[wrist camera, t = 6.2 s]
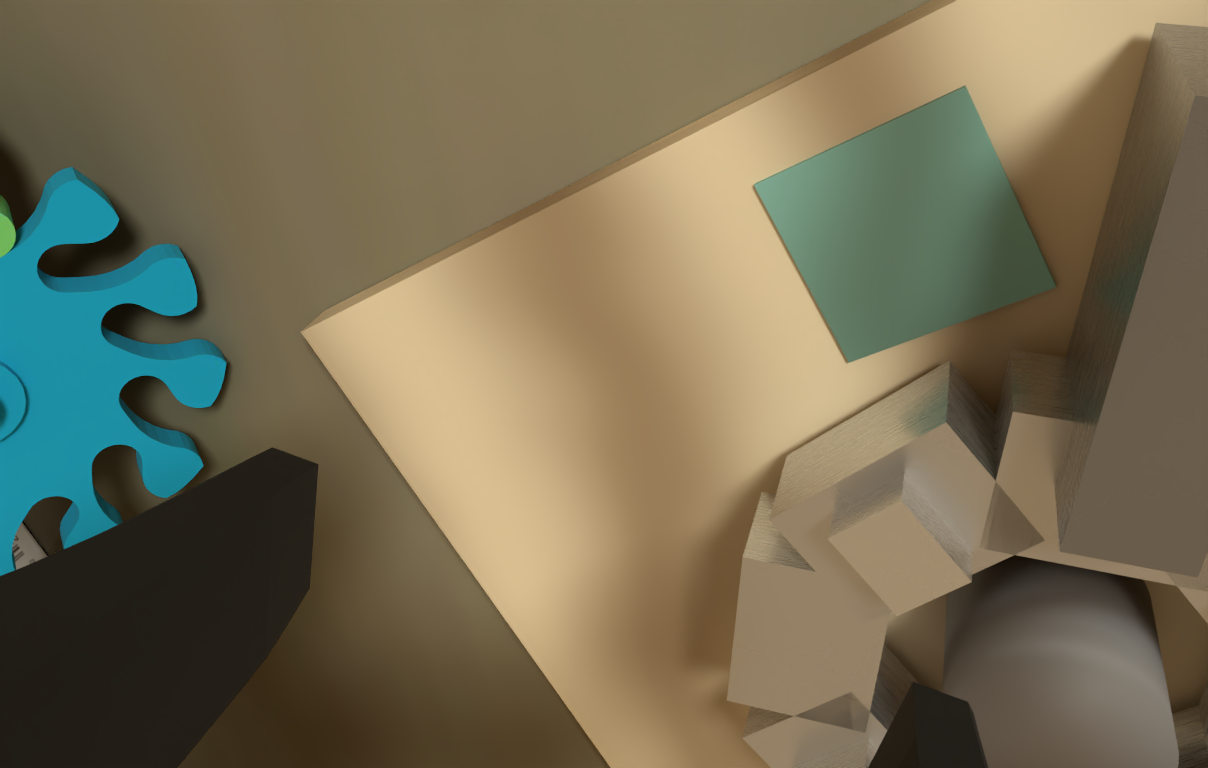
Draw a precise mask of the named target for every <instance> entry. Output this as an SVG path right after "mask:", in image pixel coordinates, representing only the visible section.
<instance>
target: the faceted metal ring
mask: <svg viewBox="0 0 1208 768" xmlns="http://www.w3.org/2000/svg"><path fill="white" fill-rule="evenodd" d="M1014 555H1018V556H1023V557H1028V558H1033V559H1038V560H1044V561H1049V562H1054V563H1059V564H1065V565H1070V566H1075V567H1080V568H1086V569H1091V570H1096V571H1101V572H1106V573H1112V574H1117V575H1122V576H1127V577H1133V578H1138V579H1143V580H1148V581H1154V582H1159V583H1164V584H1169V585H1175V586H1177V587H1178V588H1179V589H1180V591H1181V592H1182V593H1183V594H1184V595H1185V597H1186V598H1187V599H1188V600H1189V602H1190V603H1191V604H1192V605H1193V606H1194V608H1195V609H1196V610H1197V611H1198V613H1199V614H1200V615H1201V616H1202V617H1203V619H1204V620H1205V621H1206V622H1207V624H1208V27H1200V26H1188V25H1176V24H1164V23H1156V24H1155V28H1154V31H1153V35H1152V39H1151V42H1150V46H1149V50H1148V54H1147V57H1146V61H1145V65H1144V68H1143V72H1142V76H1141V80H1140V83H1139V87H1138V91H1137V94H1136V98H1135V102H1134V106H1133V109H1132V113H1131V117H1130V121H1129V124H1128V128H1127V132H1126V135H1125V139H1124V143H1123V147H1122V150H1121V154H1120V158H1119V161H1118V165H1117V169H1116V173H1115V176H1114V180H1113V184H1112V187H1111V191H1110V195H1109V199H1108V202H1107V206H1106V210H1105V213H1104V217H1103V221H1102V225H1101V228H1100V232H1099V236H1098V239H1097V243H1096V247H1095V251H1094V254H1093V258H1092V262H1091V266H1090V269H1089V273H1088V277H1087V280H1086V284H1085V288H1084V292H1083V295H1082V299H1081V303H1080V306H1079V310H1078V314H1077V318H1076V321H1075V325H1074V329H1073V332H1072V336H1071V340H1070V344H1069V347H1068V351H1067V355H1066V358H1065V357H1059V356H1052V355H1045V354H1039V353H1032V352H1026V351H1019V350H1012V349H1011V351H1010V355H1009V360H1008V364H1007V368H1006V372H1005V376H1004V381H1003V385H1002V389H1001V393H1000V397H999V401H998V406H997V410H996V414H994V413H993V412H992V410H991V409H990V408H989V407H988V406H987V404H986V403H985V402H984V401H983V400H982V398H981V397H980V396H979V395H978V394H977V392H976V391H975V390H974V389H973V387H972V386H971V385H970V384H969V383H968V381H967V380H966V379H965V378H964V377H963V375H962V374H961V373H960V372H959V371H958V369H957V368H956V367H955V366H954V365H953V363H952V362H951V361H948V362H946V363H945V364H943V365H941V366H939V367H938V368H936V369H934V370H933V371H931V372H929V373H927V374H926V375H924V376H922V377H921V378H919V379H917V380H915V381H914V382H912V383H910V384H909V385H907V386H905V387H904V388H902V389H900V390H898V391H897V392H895V393H893V394H892V395H890V396H888V397H886V398H885V399H883V400H881V401H880V402H878V403H876V404H874V405H873V406H871V407H869V408H868V409H866V410H864V411H862V412H861V413H859V414H857V415H856V416H854V417H852V418H850V419H849V420H847V421H845V422H844V423H842V424H840V425H839V426H837V427H835V428H833V429H832V430H830V431H828V432H827V433H825V434H823V435H821V436H820V437H818V438H816V439H815V440H813V441H811V442H809V443H808V444H806V445H804V446H803V447H801V448H799V449H797V450H796V451H794V452H792V453H791V454H789V455H787V457H786V460H785V464H784V467H783V471H782V475H781V478H780V482H779V486H778V489H777V493H776V494H772V493H766V492H762V493H761V496H760V500H759V503H758V507H757V510H756V513H755V517H754V520H753V524H752V527H751V530H750V534H749V537H748V541H747V544H746V547H745V551H744V554H743V558H742V567H741V576H740V585H739V594H738V603H737V613H736V622H735V631H734V640H733V649H732V658H731V667H730V676H729V685H728V694H727V701H731V702H735V703H740V704H744V705H748V706H750V708H749V712H748V716H747V720H746V724H745V729H744V733H743V737H742V739H743V740H744V741H745V742H746V743H747V744H748V745H749V746H750V747H751V748H752V749H753V750H754V751H755V752H756V753H757V754H758V755H759V756H760V757H761V758H762V759H763V760H764V761H765V762H766V763H767V764H768V765H769V766H770V767H771V768H868V767H869V765H870V763H871V761H872V759H873V757H874V755H875V754H876V752H877V750H878V748H879V746H880V744H881V742H882V740H883V738H884V736H885V734H886V732H887V730H888V729H889V727H890V725H891V723H892V721H893V719H894V717H895V715H896V713H897V711H898V709H899V707H900V706H901V704H902V702H903V700H904V698H905V696H906V694H907V692H908V690H909V688H910V686H911V684H912V682H915V683H918V684H921V683H920V682H919V681H918V680H917V679H916V678H915V677H914V676H913V675H912V674H911V672H910V671H909V670H908V669H907V668H906V667H905V666H904V665H903V664H902V663H901V661H900V660H899V659H898V658H897V657H896V656H895V655H894V654H893V653H892V652H891V650H890V649H889V648H888V647H887V646H886V645H885V644H884V640H885V635H886V630H887V625H888V620H889V615H890V612H892V611H893V612H894V614H895V615H896V616H899V615H901V614H903V613H905V612H907V611H910V610H912V609H914V608H916V607H918V606H921V605H923V604H925V603H927V602H929V601H931V600H934V599H936V598H938V597H940V596H942V595H945V594H947V593H949V592H951V591H953V590H955V589H958V588H960V587H962V586H964V585H966V584H969V583H971V582H972V574H975V573H977V572H979V571H981V570H983V569H985V568H988V567H990V566H992V565H994V564H996V563H998V562H1001V561H1003V560H1005V559H1007V558H1009V557H1011V556H1014ZM1172 717H1173V723H1174V728H1175V734H1176V739H1177V745H1178V750H1179V764H1178V768H1208V682H1207V685H1206V687H1205V689H1204V692H1203V694H1202V697H1201V699H1200V702H1199V704H1198V706H1195V707H1192V708H1189V709H1186V710H1184V711H1181V712H1178V713H1175V714H1172Z"/></svg>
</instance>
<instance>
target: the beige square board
mask: <svg viewBox="0 0 1208 768" xmlns="http://www.w3.org/2000/svg"><path fill="white" fill-rule="evenodd" d="M1156 23H1164V24H1176V25H1188V26H1200V27H1208V0H932V1H930V2H928V3H926V4H924V5H922V6H920V7H918V8H916V9H914V10H912V11H910V12H908V13H906V14H904V15H902V16H900V17H898V18H896V19H894V20H892V21H890V22H888V23H887V24H885V25H883V26H881V27H879V28H877V29H875V30H873V31H871V32H869V33H867V34H865V35H863V36H861V37H859V38H857V39H855V40H853V41H851V42H849V43H847V44H845V45H843V46H842V47H840V48H838V49H836V50H834V51H832V52H830V53H828V54H826V55H824V56H822V57H820V58H818V59H816V60H814V61H812V62H810V63H808V64H806V65H804V66H802V67H800V68H798V69H797V70H795V71H793V72H791V73H789V74H787V75H785V76H783V77H781V78H779V79H777V80H775V81H773V82H771V83H769V84H767V85H765V86H763V87H761V88H759V89H757V90H755V91H753V92H751V93H750V94H748V95H746V96H744V97H742V98H740V99H738V100H736V101H734V102H732V103H730V104H728V105H726V106H724V107H722V108H720V109H718V110H716V111H714V112H712V113H710V114H708V115H706V116H705V117H703V118H701V119H699V120H697V121H695V122H693V123H691V124H689V125H687V126H685V127H683V128H681V129H679V130H677V131H675V132H673V133H671V134H669V135H667V136H665V137H663V138H661V139H660V140H658V141H656V142H654V143H652V144H650V145H648V146H646V147H644V148H642V149H640V150H638V151H636V152H634V153H632V154H630V155H628V156H626V157H624V158H622V159H620V160H618V161H616V162H614V163H613V164H611V165H609V166H607V167H605V168H603V169H601V170H599V171H597V172H595V173H593V174H591V175H589V176H587V177H585V178H583V179H581V180H579V181H577V182H575V183H573V184H571V185H569V186H568V187H566V188H564V189H562V190H560V191H558V192H556V193H554V194H552V195H550V196H548V197H546V198H544V199H542V200H540V201H538V202H536V203H534V204H532V205H530V206H528V207H526V208H524V209H523V210H521V211H519V212H517V213H515V214H513V215H511V216H509V217H507V218H505V219H503V220H501V221H499V222H497V223H495V224H493V225H491V226H489V227H487V228H485V229H483V230H481V231H479V232H477V233H476V234H474V235H472V236H470V237H468V238H466V239H464V240H462V241H460V242H458V243H456V244H454V245H452V246H450V247H448V248H446V249H444V250H442V251H440V252H438V253H436V254H434V255H432V256H431V257H429V258H427V259H425V260H423V261H421V262H419V263H417V264H415V265H413V266H411V267H409V268H407V269H405V270H403V271H401V272H399V273H397V274H395V275H393V276H391V277H389V278H387V279H386V280H384V281H382V282H380V283H378V284H376V285H374V286H372V287H370V288H368V289H366V290H364V291H362V292H360V293H358V294H356V295H354V296H352V297H350V298H348V299H346V300H344V301H342V302H340V303H339V304H337V305H335V306H333V307H331V308H329V309H327V310H325V311H324V312H323V313H321V314H320V315H319V316H318V317H317V318H316V319H315V320H314V321H312V322H311V323H310V324H309V325H308V326H307V327H306V328H305V329H304V330H302V331H301V333H302V334H303V336H304V337H305V339H306V340H307V341H308V343H309V344H310V346H311V347H312V348H313V350H314V351H315V353H316V354H317V355H318V357H319V358H320V360H321V361H322V362H323V364H324V365H325V367H326V368H327V369H328V371H329V372H330V374H331V375H332V377H333V378H334V379H335V381H336V382H337V384H338V385H339V386H340V388H341V389H342V391H343V392H344V393H345V395H346V396H347V398H348V399H349V400H350V402H351V403H352V405H353V406H354V407H355V409H356V410H357V412H358V413H359V415H360V416H361V417H362V419H363V420H364V422H365V423H366V424H367V426H368V427H369V429H370V430H371V431H372V433H373V434H374V436H375V437H376V438H377V440H378V441H379V443H380V444H381V445H382V447H383V448H384V450H385V451H386V452H387V454H388V455H389V457H390V458H391V460H392V461H393V462H394V464H395V465H396V467H397V468H398V469H399V471H400V472H401V474H402V475H403V476H404V478H405V479H406V481H407V482H408V483H409V485H410V486H411V488H412V489H413V490H414V492H415V493H416V495H417V496H418V498H419V499H420V500H421V502H422V503H423V505H424V506H425V507H426V509H427V510H428V512H429V513H430V514H431V516H432V517H433V519H434V520H435V521H436V523H437V524H438V526H439V527H440V528H441V530H442V531H443V533H444V534H445V536H446V537H447V538H448V540H449V541H450V543H451V544H452V545H453V547H454V548H455V550H456V551H457V552H458V554H459V555H460V557H461V558H462V559H463V561H464V562H465V564H466V565H467V566H468V568H469V569H470V571H471V572H472V573H473V575H474V576H475V578H476V579H477V581H478V582H479V583H480V585H481V586H482V588H483V589H484V590H485V592H486V593H487V595H488V596H489V597H490V599H491V600H492V602H493V603H494V604H495V606H496V607H497V609H498V610H499V611H500V613H501V614H502V616H503V617H504V619H505V620H506V621H507V623H508V624H509V626H510V627H511V628H512V630H513V631H514V633H515V634H516V635H517V637H518V638H519V640H520V641H521V642H522V644H523V645H524V647H525V648H526V649H527V651H528V652H529V654H530V655H531V657H532V658H533V659H534V661H535V662H536V664H537V665H538V666H539V668H540V669H541V671H542V672H543V673H544V675H545V676H546V678H547V679H548V680H549V682H550V683H551V685H552V686H553V687H554V689H555V690H556V692H557V693H558V694H559V696H560V697H561V699H562V700H563V702H564V703H565V704H566V706H567V707H568V709H569V710H570V711H571V713H572V714H573V716H574V717H575V718H576V720H577V721H578V723H579V724H580V725H581V727H582V728H583V730H584V731H585V732H586V734H587V735H588V737H589V738H590V740H591V741H592V742H593V744H594V745H595V747H596V748H597V749H598V751H599V752H600V754H601V755H602V756H603V758H604V759H605V761H606V762H607V763H608V765H609V766H610V768H771V767H770V766H769V765H768V764H767V763H766V762H765V761H764V760H763V759H762V758H761V757H760V756H759V755H758V754H757V753H756V752H755V751H754V750H753V749H752V748H751V747H750V746H749V745H748V744H747V743H746V742H745V741H744V740H743V739H742V737H743V733H744V729H745V724H746V720H747V716H748V712H749V708H750V706H748V705H744V704H740V703H735V702H731V701H727V694H728V685H729V676H730V667H731V658H732V649H733V640H734V631H735V622H736V613H737V603H738V594H739V585H740V576H741V567H742V558H743V554H744V551H745V547H746V544H747V541H748V537H749V534H750V530H751V527H752V524H753V520H754V517H755V513H756V510H757V507H758V503H759V500H760V496H761V493H762V492H766V493H772V494H776V493H777V489H778V486H779V482H780V478H781V475H782V471H783V467H784V464H785V460H786V457H787V455H789V454H791V453H792V452H794V451H796V450H797V449H799V448H801V447H803V446H804V445H806V444H808V443H809V442H811V441H813V440H815V439H816V438H818V437H820V436H821V435H823V434H825V433H827V432H828V431H830V430H832V429H833V428H835V427H837V426H839V425H840V424H842V423H844V422H845V421H847V420H849V419H850V418H852V417H854V416H856V415H857V414H859V413H861V412H862V411H864V410H866V409H868V408H869V407H871V406H873V405H874V404H876V403H878V402H880V401H881V400H883V399H885V398H886V397H888V396H890V395H892V394H893V393H895V392H897V391H898V390H900V389H902V388H904V387H905V386H907V385H909V384H910V383H912V382H914V381H915V380H917V379H919V378H921V377H922V376H924V375H926V374H927V373H929V372H931V371H933V370H934V369H936V368H938V367H939V366H941V365H943V364H945V363H946V362H948V361H951V362H952V363H953V365H954V366H955V367H956V368H957V369H958V371H959V372H960V373H961V374H962V375H963V377H964V378H965V379H966V380H967V381H968V383H969V384H970V385H971V386H972V387H973V389H974V390H975V391H976V392H977V394H978V395H979V396H980V397H981V398H982V400H983V401H984V402H985V403H986V404H987V406H988V407H989V408H990V409H991V410H992V412H993V413H994V414H996V410H997V406H998V401H999V397H1000V393H1001V389H1002V385H1003V381H1004V376H1005V372H1006V368H1007V364H1008V360H1009V355H1010V351H1011V349H1012V350H1019V351H1026V352H1032V353H1039V354H1045V355H1052V356H1059V357H1065V358H1066V355H1067V351H1068V347H1069V344H1070V340H1071V336H1072V332H1073V329H1074V325H1075V321H1076V318H1077V314H1078V310H1079V306H1080V303H1081V299H1082V295H1083V292H1084V288H1085V284H1086V280H1087V277H1088V273H1089V269H1090V266H1091V262H1092V258H1093V254H1094V251H1095V247H1096V243H1097V239H1098V236H1099V232H1100V228H1101V225H1102V221H1103V217H1104V213H1105V210H1106V206H1107V202H1108V199H1109V195H1110V191H1111V187H1112V184H1113V180H1114V176H1115V173H1116V169H1117V165H1118V161H1119V158H1120V154H1121V150H1122V147H1123V143H1124V139H1125V135H1126V132H1127V128H1128V124H1129V121H1130V117H1131V113H1132V109H1133V106H1134V102H1135V98H1136V94H1137V91H1138V87H1139V83H1140V80H1141V76H1142V72H1143V68H1144V65H1145V61H1146V57H1147V54H1148V50H1149V46H1150V42H1151V39H1152V35H1153V31H1154V28H1155V24H1156ZM884 644H885V645H886V646H887V647H888V648H889V649H890V650H891V652H892V653H893V654H894V655H895V656H896V657H897V658H898V659H899V660H900V661H901V663H902V664H903V665H904V666H905V667H906V668H907V669H908V670H909V671H910V672H911V674H912V675H913V676H914V677H915V678H916V679H917V680H918V681H919V682H920V683H921V685H923V686H926V687H929V688H932V689H934V690H937V691H940V692H943V693H945V694H948V695H951V696H954V697H956V698H959V699H962V700H965V701H967V702H968V703H969V705H970V707H971V709H972V711H973V713H974V717H975V720H976V724H977V728H978V732H979V736H980V739H981V743H982V747H983V750H984V754H985V757H986V761H987V764H988V768H1178V764H1179V750H1178V745H1177V739H1176V734H1175V728H1174V723H1173V717H1172V714H1175V713H1178V712H1181V711H1184V710H1186V709H1189V708H1192V707H1195V706H1198V704H1199V702H1200V699H1201V697H1202V694H1203V692H1204V689H1205V687H1206V685H1207V682H1208V624H1207V622H1206V621H1205V620H1204V619H1203V617H1202V616H1201V615H1200V614H1199V613H1198V611H1197V610H1196V609H1195V608H1194V606H1193V605H1192V604H1191V603H1190V602H1189V600H1188V599H1187V598H1186V597H1185V595H1184V594H1183V593H1182V592H1181V591H1180V589H1179V588H1178V587H1177V586H1175V585H1169V584H1164V583H1159V582H1154V581H1148V580H1143V579H1138V578H1133V577H1127V576H1122V575H1117V574H1112V573H1106V572H1101V571H1096V570H1091V569H1086V568H1080V567H1075V566H1070V565H1065V564H1059V563H1054V562H1049V561H1044V560H1038V559H1033V558H1028V557H1023V556H1018V555H1014V556H1011V557H1009V558H1007V559H1005V560H1003V561H1001V562H998V563H996V564H994V565H992V566H990V567H988V568H985V569H983V570H981V571H979V572H977V573H975V574H972V582H971V583H969V584H966V585H964V586H962V587H960V588H958V589H955V590H953V591H951V592H949V593H947V594H945V595H942V596H940V597H938V598H936V599H934V600H931V601H929V602H927V603H925V604H923V605H921V606H918V607H916V608H914V609H912V610H910V611H907V612H905V613H903V614H901V615H899V616H896V615H895V614H894V612H893V611H892V612H890V615H889V620H888V625H887V630H886V635H885V640H884Z"/></svg>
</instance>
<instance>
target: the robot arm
mask: <svg viewBox="0 0 1208 768" xmlns="http://www.w3.org/2000/svg"><path fill="white" fill-rule="evenodd" d="M317 475H318V464H316V463H313V462H311V461H308V460H305V459H302V458H300V457H297V456H294V455H291V454H289V453H286V452H283V451H280V450H278V449H275V448H270V449H268V450H266V451H264V452H262V453H260V454H258V455H256V456H254V457H252V458H250V459H248V460H246V461H244V462H242V463H240V464H238V465H236V466H234V467H232V468H230V469H228V470H226V471H224V472H222V473H220V474H218V475H216V476H214V477H212V478H211V479H209V480H207V481H205V482H203V483H201V484H199V485H197V486H195V487H193V488H191V489H189V490H187V491H185V492H183V493H181V494H179V495H177V496H175V497H173V498H171V499H169V500H167V501H165V502H163V503H161V504H159V505H157V506H155V507H153V508H151V509H149V510H147V511H145V512H143V513H141V514H139V515H137V516H135V517H133V518H131V519H129V520H127V521H124V522H122V523H120V524H118V525H116V526H114V527H112V528H110V529H108V530H106V531H104V532H102V533H99V534H97V535H95V536H93V537H91V538H88V539H86V540H84V541H82V542H79V543H77V544H75V545H72V546H70V547H68V548H66V549H63V550H61V551H59V552H56V553H54V554H52V555H50V556H47V557H45V558H43V559H40V560H38V561H36V562H34V563H31V564H29V565H27V566H24V567H22V568H19V569H17V570H14V571H12V572H9V573H7V574H4V575H1V576H0V768H177V767H178V766H179V765H180V764H181V762H182V761H183V760H184V759H185V758H186V756H187V755H188V754H189V753H190V751H191V750H192V749H193V748H194V747H195V745H196V744H197V743H198V742H199V740H200V739H201V738H202V737H203V736H204V734H205V733H206V732H207V731H208V729H209V728H210V727H211V726H212V725H213V723H214V722H215V721H216V720H217V718H218V717H219V716H220V715H221V714H222V712H223V711H224V710H225V709H226V707H227V706H228V705H229V704H230V702H231V701H232V700H233V699H234V698H235V696H236V695H237V694H238V693H239V691H240V690H241V689H242V688H243V686H244V685H245V684H246V683H247V681H248V680H249V679H250V678H251V676H252V675H253V674H254V673H255V671H256V670H257V669H258V668H259V666H260V665H261V664H262V663H263V661H264V660H265V659H266V657H267V656H268V654H269V653H270V651H271V649H272V648H273V646H274V645H275V643H276V642H277V640H278V639H279V637H280V635H281V634H282V632H283V631H284V629H285V628H286V626H287V624H288V623H289V621H290V619H291V618H292V616H293V614H294V613H295V611H296V610H297V608H298V606H299V605H300V603H301V601H302V600H303V598H304V596H305V595H306V593H307V591H308V590H309V588H310V574H311V560H312V546H313V532H314V517H315V503H316V489H317ZM868 768H988V764H987V761H986V757H985V754H984V750H983V747H982V743H981V739H980V736H979V732H978V728H977V724H976V720H975V717H974V713H973V711H972V709H971V707H970V705H969V703H968V702H967V701H965V700H962V699H959V698H956V697H954V696H951V695H948V694H945V693H943V692H940V691H937V690H934V689H932V688H929V687H926V686H923V685H921V684H918V683H915V682H912V684H911V686H910V688H909V690H908V692H907V694H906V696H905V698H904V700H903V702H902V704H901V706H900V707H899V709H898V711H897V713H896V715H895V717H894V719H893V721H892V723H891V725H890V727H889V729H888V730H887V732H886V734H885V736H884V738H883V740H882V742H881V744H880V746H879V748H878V750H877V752H876V754H875V755H874V757H873V759H872V761H871V763H870V765H869V767H868Z"/></svg>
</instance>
